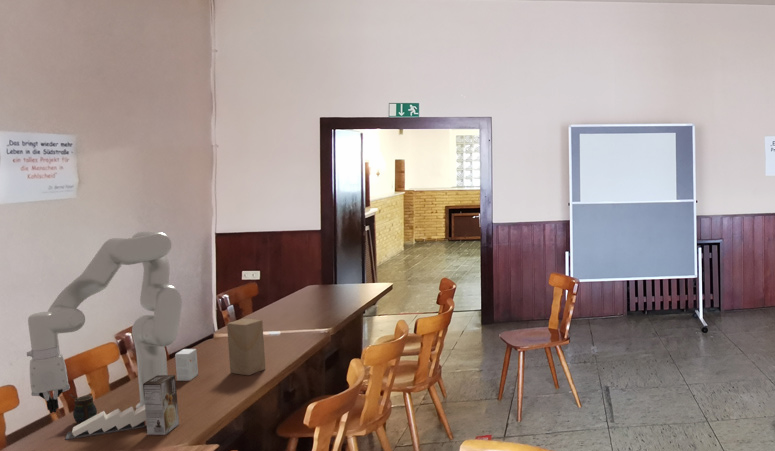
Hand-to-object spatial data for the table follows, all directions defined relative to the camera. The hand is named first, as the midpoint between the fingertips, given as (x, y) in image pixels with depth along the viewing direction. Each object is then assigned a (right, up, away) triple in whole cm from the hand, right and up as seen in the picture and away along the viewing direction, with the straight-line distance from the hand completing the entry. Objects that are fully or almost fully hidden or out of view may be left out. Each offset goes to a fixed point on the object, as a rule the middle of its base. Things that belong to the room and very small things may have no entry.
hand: (53, 411), depth 221 cm
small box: (+24, -3, +61) cm, 65 cm away
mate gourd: (+4, -7, +14) cm, 16 cm away
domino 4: (+17, -6, +6) cm, 19 cm away
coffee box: (+33, -7, +3) cm, 34 cm away
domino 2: (+9, -7, +3) cm, 12 cm away
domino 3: (+13, -6, +5) cm, 15 cm away
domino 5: (+21, -6, +7) cm, 23 cm away
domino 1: (+5, -7, +2) cm, 9 cm away
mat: (+14, -7, +5) cm, 17 cm away
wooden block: (+47, -1, +65) cm, 80 cm away
